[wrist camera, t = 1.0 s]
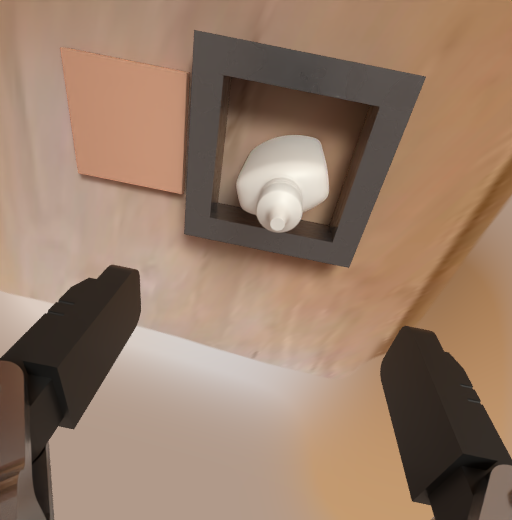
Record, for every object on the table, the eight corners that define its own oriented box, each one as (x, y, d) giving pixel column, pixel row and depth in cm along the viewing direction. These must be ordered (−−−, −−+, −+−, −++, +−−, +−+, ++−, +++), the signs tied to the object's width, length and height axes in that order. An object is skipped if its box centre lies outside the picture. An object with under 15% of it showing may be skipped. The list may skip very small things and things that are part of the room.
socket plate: (206, 33, 21) (194, 29, 19) (410, 74, 21) (425, 76, 19) (194, 218, 29) (184, 234, 27) (344, 249, 29) (348, 267, 26)
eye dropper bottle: (308, 193, 27) (313, 277, 17) (244, 171, 26) (210, 242, 16) (330, 142, 24) (353, 203, 14) (261, 116, 24) (233, 160, 14)
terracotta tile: (66, 47, 23) (60, 47, 22) (189, 72, 23) (186, 73, 22) (83, 170, 28) (78, 173, 27) (184, 190, 28) (181, 194, 27)
